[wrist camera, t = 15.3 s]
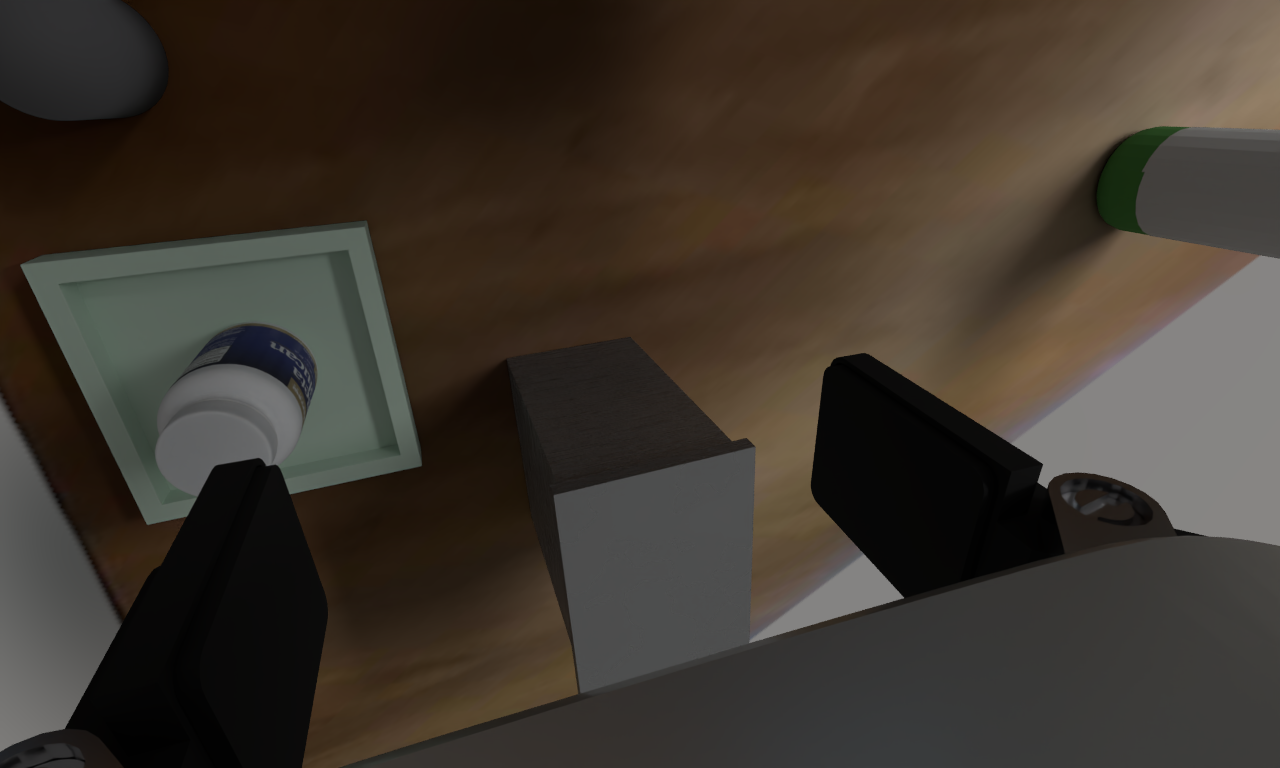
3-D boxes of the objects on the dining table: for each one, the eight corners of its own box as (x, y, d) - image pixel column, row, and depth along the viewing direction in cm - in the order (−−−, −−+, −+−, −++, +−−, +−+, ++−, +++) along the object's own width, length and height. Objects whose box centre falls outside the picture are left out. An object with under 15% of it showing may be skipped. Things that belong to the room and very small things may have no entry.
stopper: (142, -15, 26) (91, -38, 22) (186, 113, 28) (147, 115, 24) (-3, -14, 25) (-89, -38, 21) (54, 121, 27) (-12, 125, 23)
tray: (366, 220, 32) (364, 227, 31) (421, 449, 38) (422, 465, 37) (42, 254, 29) (19, 264, 27) (160, 503, 35) (147, 524, 33)
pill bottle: (342, 374, 35) (322, 463, 26) (259, 430, 34) (213, 538, 26) (266, 298, 32) (217, 369, 23) (176, 358, 32) (93, 452, 23)
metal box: (637, 329, 40) (757, 446, 27) (646, 493, 46) (750, 658, 32) (498, 353, 38) (553, 495, 24) (526, 523, 43) (583, 716, 30)
